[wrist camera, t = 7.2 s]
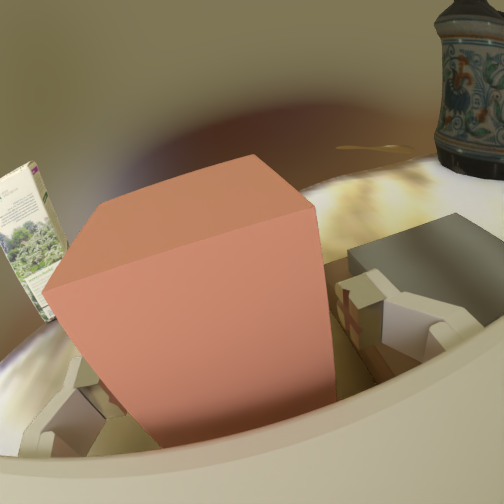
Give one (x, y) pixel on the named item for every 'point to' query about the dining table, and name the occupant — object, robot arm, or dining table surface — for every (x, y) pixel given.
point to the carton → (202, 303)
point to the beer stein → (472, 90)
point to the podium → (427, 277)
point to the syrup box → (30, 232)
